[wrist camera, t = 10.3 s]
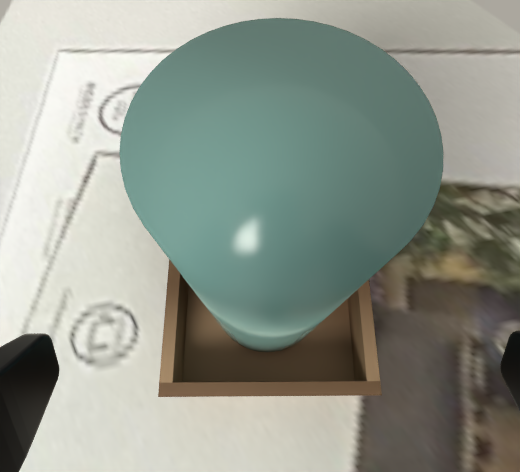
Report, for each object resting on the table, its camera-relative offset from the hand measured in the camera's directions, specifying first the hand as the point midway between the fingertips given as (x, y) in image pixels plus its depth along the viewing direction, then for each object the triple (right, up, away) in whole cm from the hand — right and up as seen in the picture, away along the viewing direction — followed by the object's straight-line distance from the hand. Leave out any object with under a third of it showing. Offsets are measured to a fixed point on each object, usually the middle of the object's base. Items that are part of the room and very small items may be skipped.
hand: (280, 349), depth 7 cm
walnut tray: (0, -1, +11) cm, 11 cm away
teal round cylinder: (0, -1, +10) cm, 10 cm away
